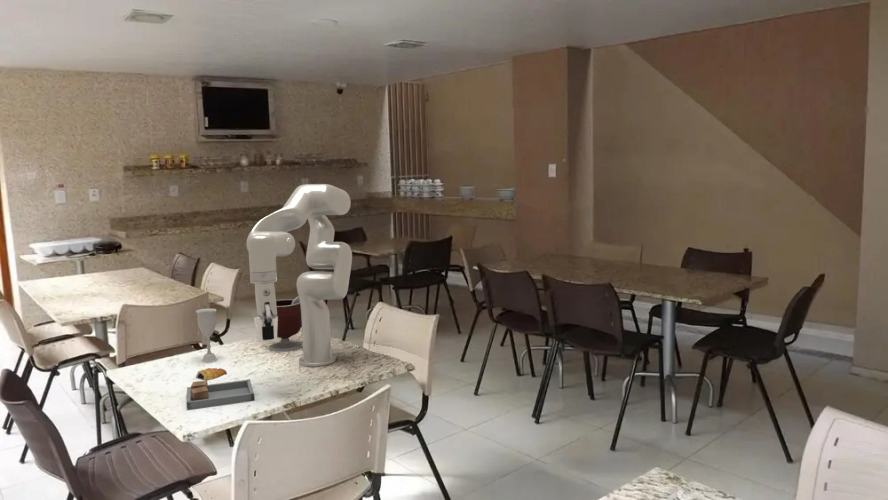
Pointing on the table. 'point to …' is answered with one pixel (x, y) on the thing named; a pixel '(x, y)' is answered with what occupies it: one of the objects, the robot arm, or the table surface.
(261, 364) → the table surface
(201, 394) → the walnut block
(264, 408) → the table surface
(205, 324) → the chalice
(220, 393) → the tray
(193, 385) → the walnut block
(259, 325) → the shot glass
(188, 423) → the table surface
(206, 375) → the pastry
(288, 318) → the mate gourd
